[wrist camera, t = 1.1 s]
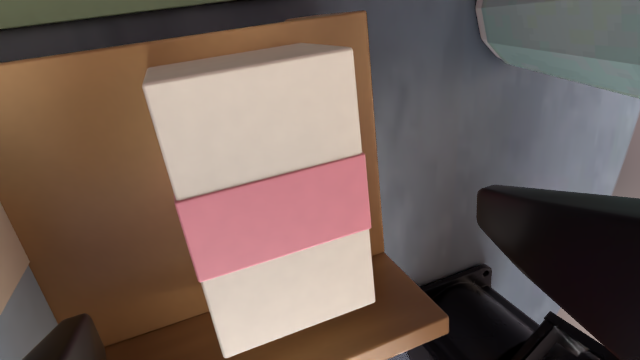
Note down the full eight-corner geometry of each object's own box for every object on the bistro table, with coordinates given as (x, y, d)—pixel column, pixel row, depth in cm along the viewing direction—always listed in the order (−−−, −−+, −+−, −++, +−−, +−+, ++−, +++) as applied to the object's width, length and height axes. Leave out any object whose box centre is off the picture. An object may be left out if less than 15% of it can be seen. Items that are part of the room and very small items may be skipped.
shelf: (317, 14, 18) (450, 2, 10) (342, 220, 22) (449, 333, 14) (-273, 99, 13) (-1107, 234, 4) (-91, 352, 17) (-335, 668, 9)
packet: (303, 41, 13) (356, 46, 10) (331, 244, 17) (379, 303, 13) (144, 67, 12) (138, 84, 8) (207, 283, 15) (222, 362, 12)
